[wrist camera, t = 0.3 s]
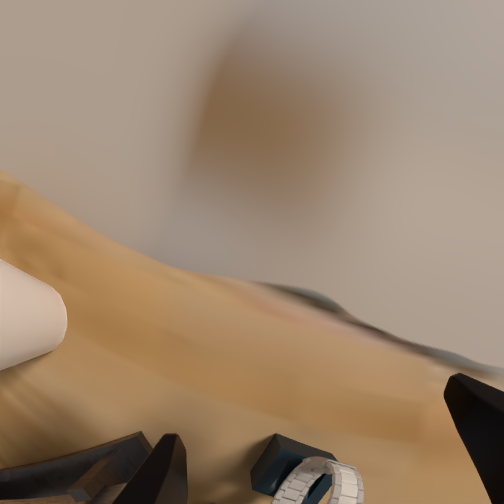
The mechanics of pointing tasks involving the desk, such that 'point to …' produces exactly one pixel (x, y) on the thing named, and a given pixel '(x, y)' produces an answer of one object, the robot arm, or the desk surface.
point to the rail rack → (77, 471)
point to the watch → (304, 475)
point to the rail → (101, 500)
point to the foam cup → (28, 317)
